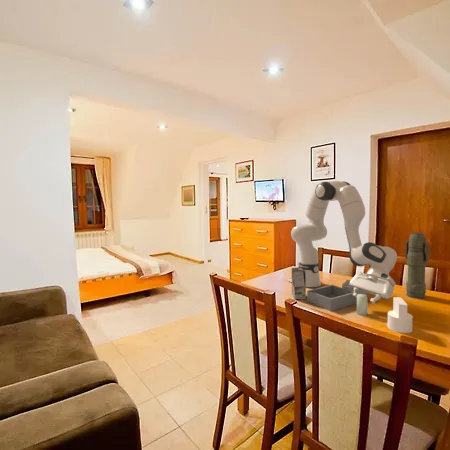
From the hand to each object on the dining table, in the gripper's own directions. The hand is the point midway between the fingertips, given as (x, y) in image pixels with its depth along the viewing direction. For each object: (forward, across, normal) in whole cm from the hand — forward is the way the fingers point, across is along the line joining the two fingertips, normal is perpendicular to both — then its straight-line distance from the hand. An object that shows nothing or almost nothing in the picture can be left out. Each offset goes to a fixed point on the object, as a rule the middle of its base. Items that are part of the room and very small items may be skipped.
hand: (362, 299), depth 138 cm
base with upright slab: (+5, +18, +5) cm, 19 cm away
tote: (+6, -18, +4) cm, 19 cm away
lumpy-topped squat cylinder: (-6, -18, +16) cm, 25 cm away
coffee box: (+12, -34, -2) cm, 36 cm away
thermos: (-26, 0, +36) cm, 45 cm away
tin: (+5, 0, +5) cm, 7 cm away
